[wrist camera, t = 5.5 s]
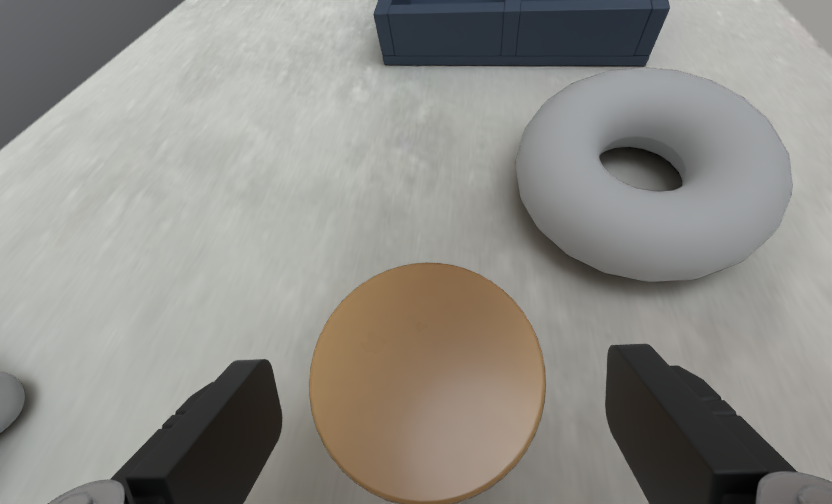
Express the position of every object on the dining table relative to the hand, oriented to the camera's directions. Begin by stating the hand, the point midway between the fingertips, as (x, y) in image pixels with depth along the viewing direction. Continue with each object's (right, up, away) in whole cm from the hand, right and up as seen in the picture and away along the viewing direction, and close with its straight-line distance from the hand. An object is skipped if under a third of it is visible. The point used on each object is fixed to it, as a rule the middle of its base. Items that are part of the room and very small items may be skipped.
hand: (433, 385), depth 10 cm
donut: (+9, +6, +8) cm, 14 cm away
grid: (+6, +20, +16) cm, 27 cm away
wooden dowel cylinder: (+1, -3, +5) cm, 6 cm away
